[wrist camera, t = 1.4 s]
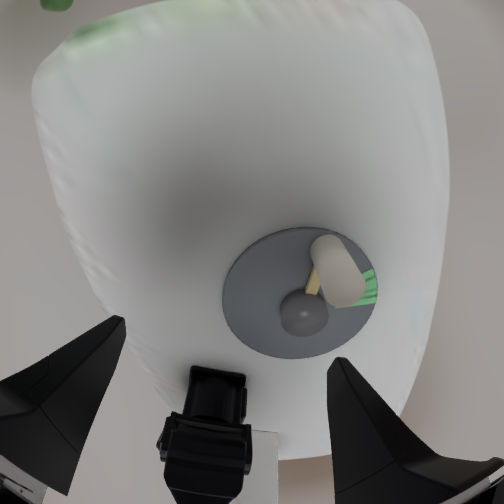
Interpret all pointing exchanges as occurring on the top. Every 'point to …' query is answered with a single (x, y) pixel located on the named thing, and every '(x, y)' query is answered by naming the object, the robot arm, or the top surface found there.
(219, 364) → the top surface
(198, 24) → the top surface
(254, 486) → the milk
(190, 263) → the top surface
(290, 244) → the grey round disc
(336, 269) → the peg
